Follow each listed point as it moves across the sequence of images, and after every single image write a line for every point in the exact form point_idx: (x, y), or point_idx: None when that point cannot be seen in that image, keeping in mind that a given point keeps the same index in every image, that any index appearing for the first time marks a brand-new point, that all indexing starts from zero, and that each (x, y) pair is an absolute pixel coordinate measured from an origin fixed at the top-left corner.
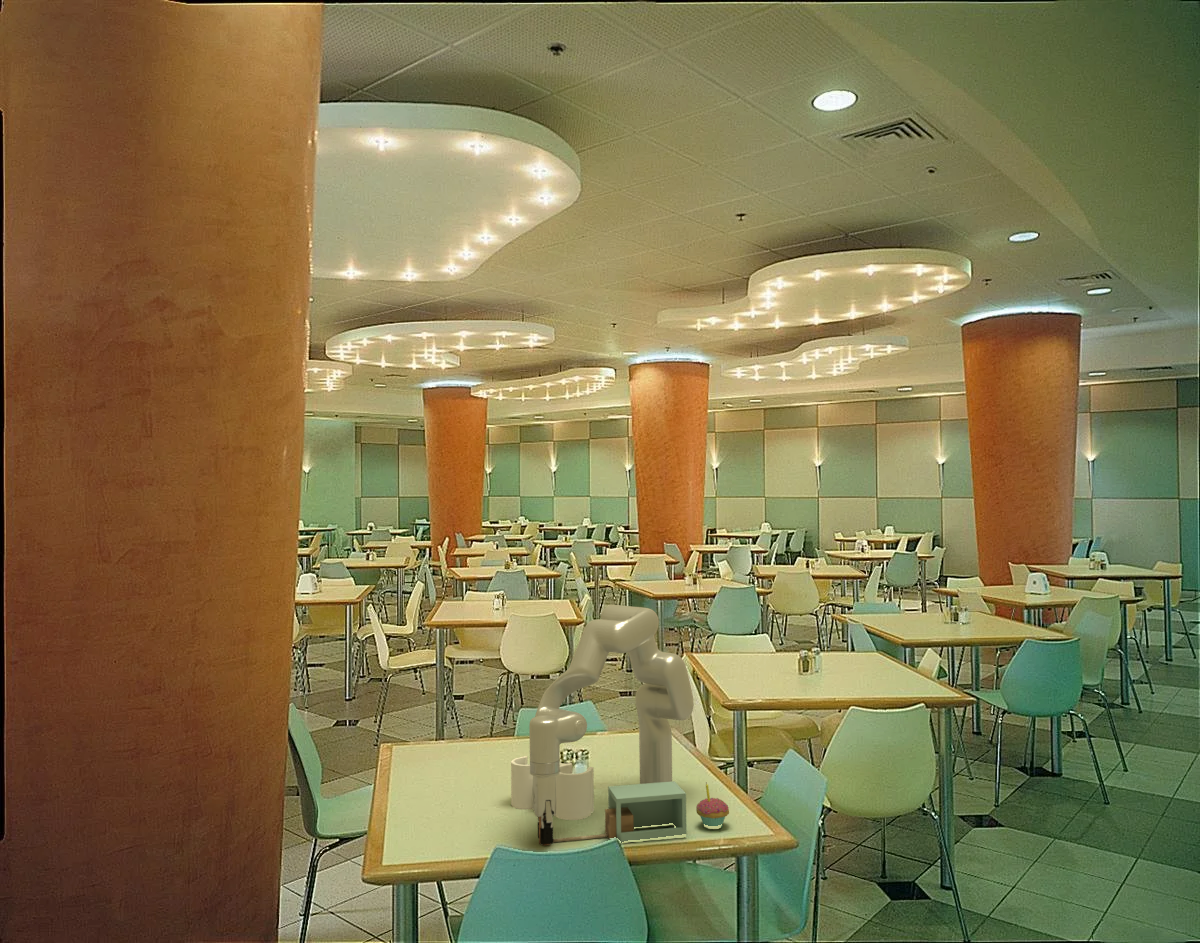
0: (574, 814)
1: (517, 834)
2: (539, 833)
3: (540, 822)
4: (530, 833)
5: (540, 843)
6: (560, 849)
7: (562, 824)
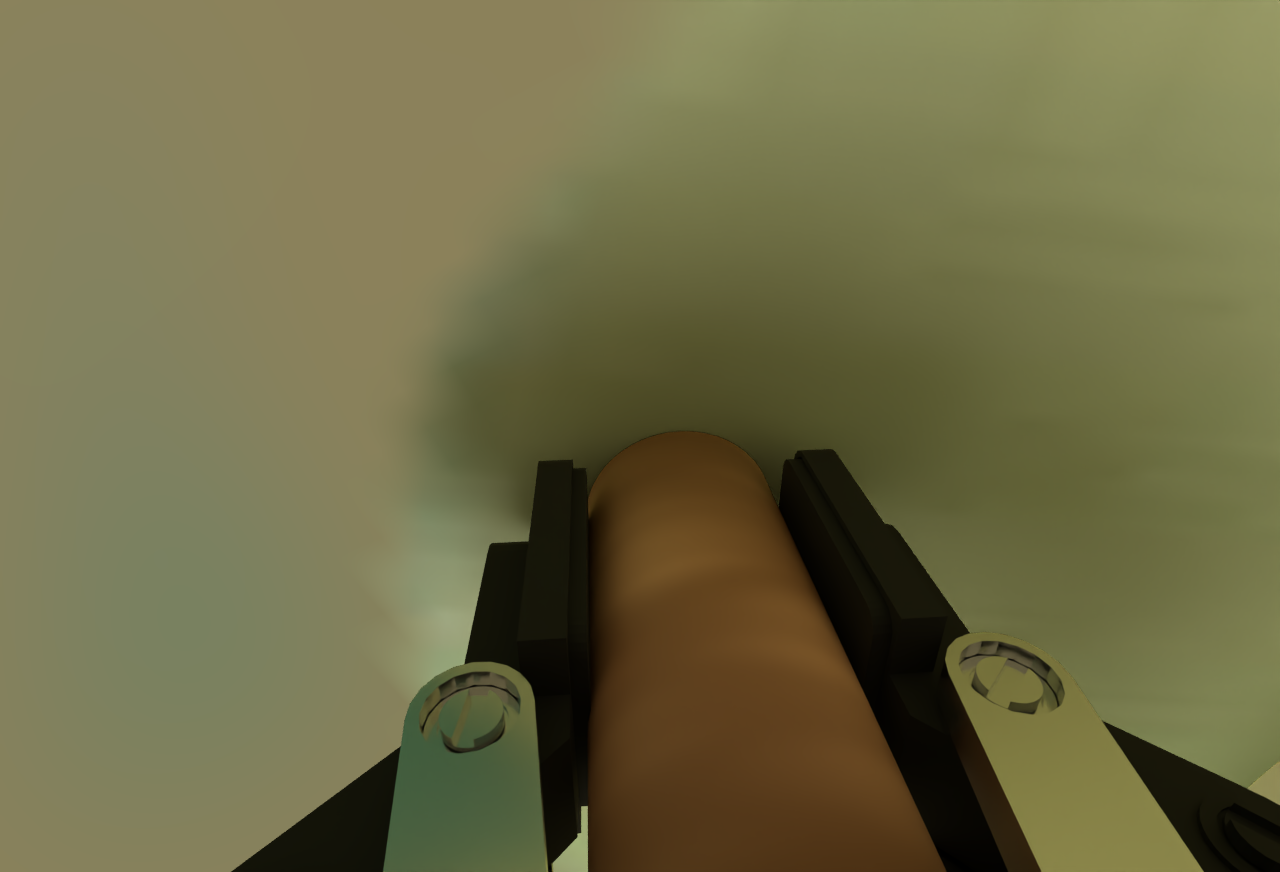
0: None
1: (1228, 119)
2: (680, 526)
3: (660, 729)
4: (1140, 346)
5: (637, 451)
6: (427, 651)
7: (1186, 717)
